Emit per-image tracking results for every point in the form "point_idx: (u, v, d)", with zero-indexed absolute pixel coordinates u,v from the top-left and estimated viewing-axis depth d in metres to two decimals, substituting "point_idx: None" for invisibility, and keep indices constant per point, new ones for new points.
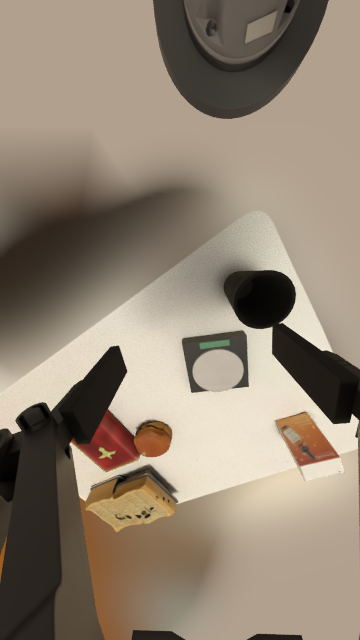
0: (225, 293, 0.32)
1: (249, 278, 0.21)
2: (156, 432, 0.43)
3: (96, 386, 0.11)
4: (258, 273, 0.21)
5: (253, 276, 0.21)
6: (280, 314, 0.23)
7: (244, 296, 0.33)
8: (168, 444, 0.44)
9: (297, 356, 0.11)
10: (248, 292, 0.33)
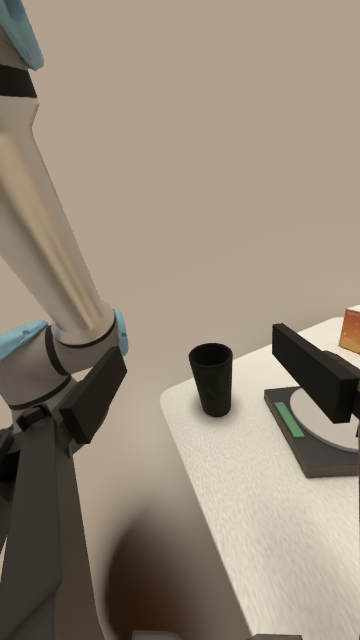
0: (221, 410, 0.31)
1: (192, 361, 0.29)
2: None
3: (96, 386, 0.11)
4: (189, 358, 0.30)
5: (191, 360, 0.29)
6: (221, 348, 0.33)
7: None
8: None
9: (297, 356, 0.11)
10: None
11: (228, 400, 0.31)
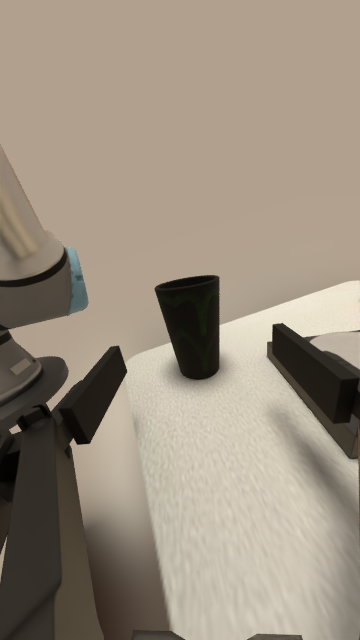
0: (204, 368, 0.21)
1: (157, 288, 0.19)
2: None
3: (96, 386, 0.11)
4: (155, 287, 0.20)
5: (156, 288, 0.19)
6: (205, 281, 0.23)
7: None
8: None
9: (297, 356, 0.11)
10: None
11: (214, 352, 0.21)
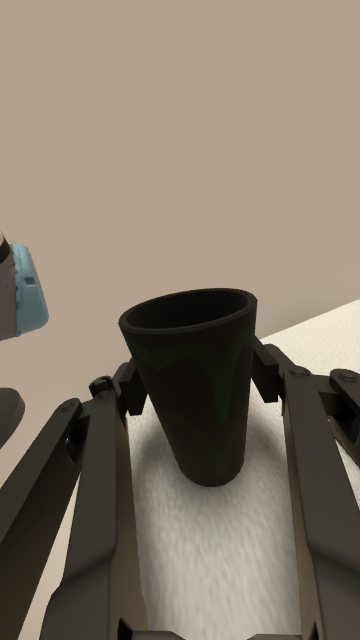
0: (220, 472, 0.11)
1: (121, 322, 0.09)
2: None
3: None
4: (121, 316, 0.10)
5: (121, 319, 0.09)
6: (220, 298, 0.12)
7: None
8: None
9: None
10: None
11: (241, 442, 0.11)
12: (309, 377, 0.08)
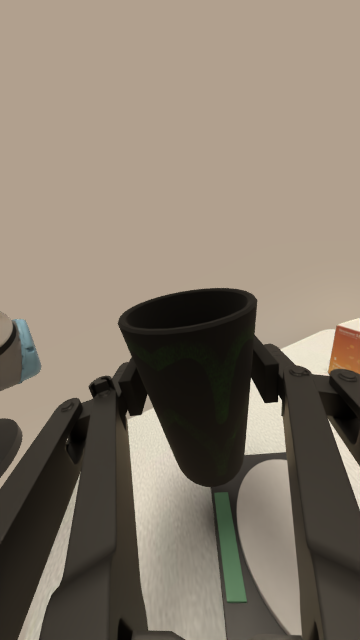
0: (220, 472, 0.11)
1: (121, 322, 0.09)
2: None
3: None
4: (121, 317, 0.10)
5: (121, 319, 0.09)
6: (220, 298, 0.12)
7: None
8: None
9: None
10: None
11: (240, 442, 0.11)
12: (309, 377, 0.08)
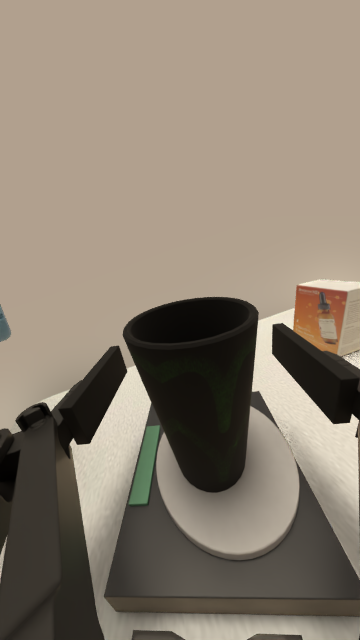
0: (222, 479, 0.11)
1: (126, 334, 0.09)
2: None
3: (96, 386, 0.11)
4: (125, 327, 0.10)
5: (126, 331, 0.09)
6: (221, 307, 0.12)
7: None
8: None
9: (297, 356, 0.11)
10: None
11: (242, 449, 0.11)
12: None
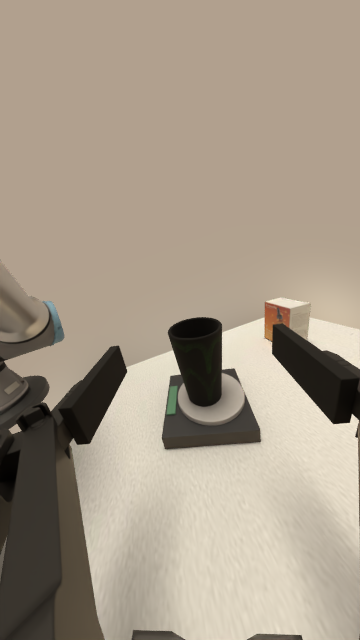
0: (209, 398, 0.25)
1: (171, 335, 0.23)
2: None
3: (96, 386, 0.11)
4: (168, 332, 0.24)
5: (170, 334, 0.24)
6: (209, 322, 0.27)
7: None
8: None
9: (297, 356, 0.11)
10: None
11: (217, 385, 0.25)
12: None
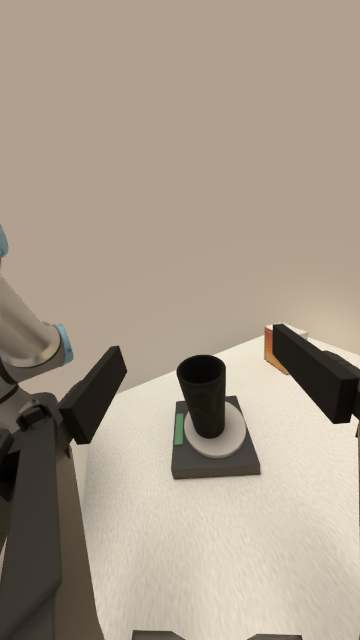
0: (213, 432, 0.28)
1: (179, 377, 0.25)
2: None
3: (96, 386, 0.11)
4: (177, 373, 0.27)
5: (178, 375, 0.26)
6: (214, 361, 0.29)
7: None
8: None
9: (297, 356, 0.11)
10: None
11: (221, 420, 0.28)
12: None
